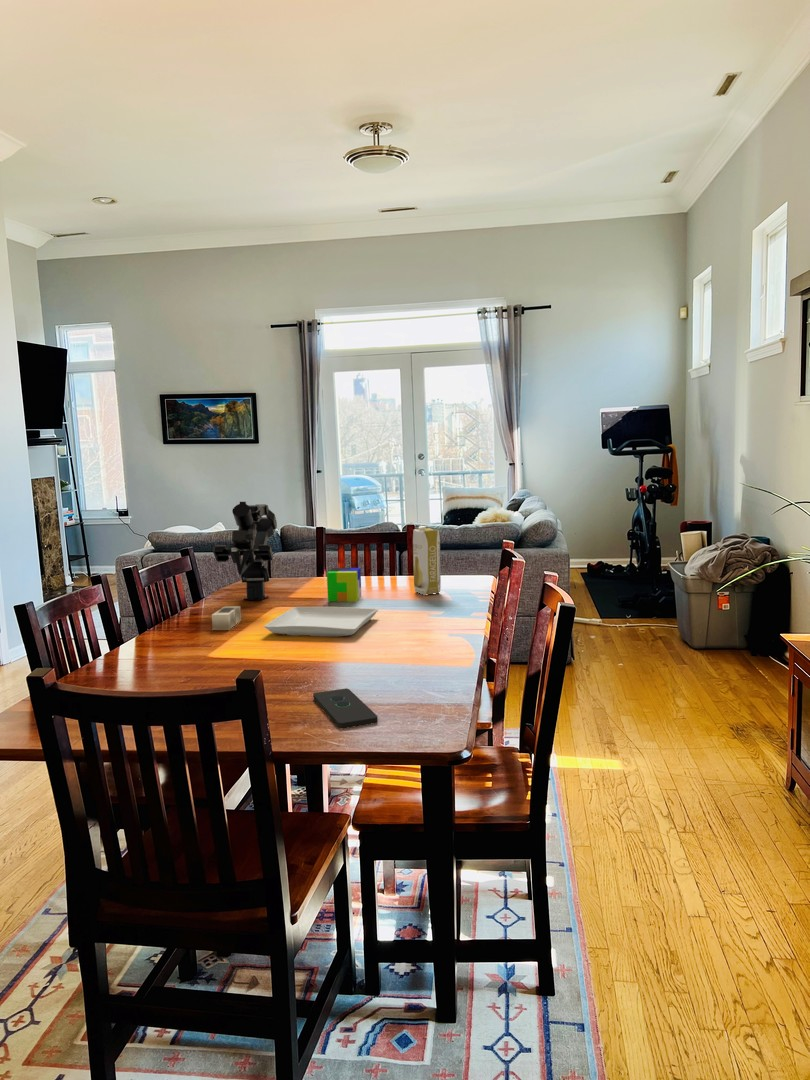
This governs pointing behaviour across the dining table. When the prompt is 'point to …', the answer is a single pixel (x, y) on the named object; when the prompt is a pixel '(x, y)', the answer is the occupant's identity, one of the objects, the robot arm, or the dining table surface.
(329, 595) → the puzzle toy
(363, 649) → the dining table surface
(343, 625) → the square plate
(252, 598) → the robot arm
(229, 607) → the metal block
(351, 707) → the smart home device
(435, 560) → the juice carton
